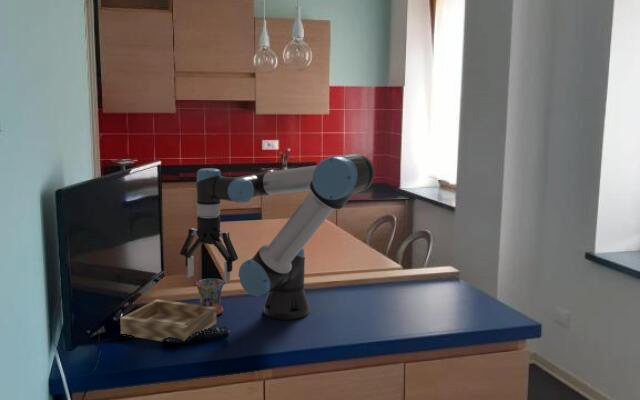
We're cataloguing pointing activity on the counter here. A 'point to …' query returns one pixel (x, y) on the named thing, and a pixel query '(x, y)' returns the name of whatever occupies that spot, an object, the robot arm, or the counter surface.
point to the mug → (210, 293)
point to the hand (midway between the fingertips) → (208, 278)
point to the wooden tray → (167, 320)
